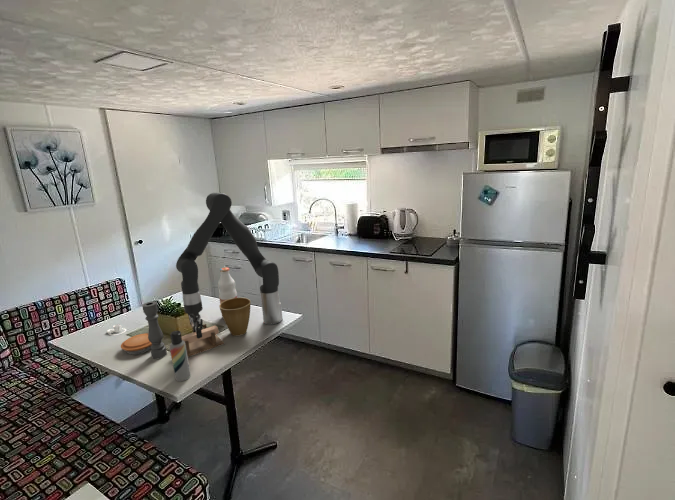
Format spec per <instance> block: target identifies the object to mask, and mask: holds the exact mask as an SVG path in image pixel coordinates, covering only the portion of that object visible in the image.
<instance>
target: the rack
mask: <svg viewBox="0 0 675 500" xmlns="http://www.w3.org/2000/svg"><path fill="white" fill-rule="evenodd" d="M206 328H208V326H207V324H206V323H203V329H206ZM185 345H186V350H187V356H188V358H190V357H192V355H193V356H195V355H198V354H200V353H203V352H206V351H210V350H211V349H215V348H217V347H220V346H222V345H225V342H224V341H223V340H222V338H220V337H219V336H218V334H216V335H215V332H212V333H211V336H210V337H207V338H204V339H201V340H198V341H195V342H192V343H190V344H189V342H188V341H185Z"/></svg>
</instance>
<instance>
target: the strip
mask: <svg viewBox="0 0 675 500" xmlns="http://www.w3.org/2000/svg"><path fill="white" fill-rule="evenodd" d="M201 331H202V337H201V338H197V335H196V332H191V333H190V332H189V333H187V334H184V335H181V337H182V340H183V341H188V342H189V344H190V343H192V342H195V341H198V340H201V339H204V338H207V337H210V336H211V333H212V332H215V335H219V334H220V333H219V327H218V326H217V325H212V326H209V327H207V328H206V329H203V330H201Z"/></svg>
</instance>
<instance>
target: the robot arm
mask: <svg viewBox="0 0 675 500" xmlns="http://www.w3.org/2000/svg"><path fill="white" fill-rule="evenodd" d="M205 204H206V207H207V209H208V210H209V211H208V215H207V217H206V218H205V220H203V222H202V223H201V225H200V226H198V228H197V229H196V231H194V233H193V235H192V237H191V238H190V240H189V242H188V245H187V247H186V248H185V249H184V251H182V253H181V254H180V256H179V257H178V258H177V260H176V263H175V264H176V265H175V268H176V269H177V271H178V272H180V273H181V277H182V280H181V282H180V285H181V286H180V287H181V292H182V293H181V295H182V302H183V310H184V313H185V314H187V316H188V320H189V324H190V326H191V328H192V331H193V332H196V335H197V338H201V337H202V331H201V330H203V325H204V320H203V319H202V317H201V314H200V312H202V310H203V303H202V295H201V292H200V286H199V268H198V264H197V262H196V260H197V258H198V257H200V256H202V255H203V254H204V251H205V249H206V248H207V246H208V244H209V242H210V240H211V238H212V236H213V234H214V232H216V230H217V228H218V227H219V226H220V223H221V225H222V226H223V228H224V229H225V231H226V232H227V234H228V235H229V237H230V238H231V240H232V241H233V243H234V244H235V245H236V247H237V248H238V249H239V250H240V251H241V253H242V254H243V255H244V256H245V258H246V259H247V260H248V262H249V263H250V265H251V266H252V269H253V270H254V272H255V274H256V275H258V276H259V278H262V284H261V285H260V287H259V295H260V300H261V310H262V319H263V323H264V324H265V325H269V326H270V325H276V324H279V323H281V322H282V321H283V310H282V303H281V302H280V295H279V284H280V277H279V275H280V274H279V268H278V265H277V263H275V262H273V261H270V260H267V259H266V257H264V255H263V254H262V252H261V251H260V250H259V247H258V243H257V239H256V238H255V236H254V235H253V233H252V232H251V230H250V229H249V227H248V226H247V225H245V223H243V222H242V221H241V220H240V219H239V218H238V217H237V216H236V215H234V213H233V212H232V210H231V208H232V199H231V197H230V195H228V194H226V193H223V192H211V193H209V194H208V195H207V197H206V198H205ZM193 332H192V333H193Z"/></svg>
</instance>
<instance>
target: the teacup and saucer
mask: <svg viewBox="0 0 675 500" xmlns="http://www.w3.org/2000/svg"><path fill="white" fill-rule="evenodd" d="M112 327H113V328H110V329H107V330H106V333H107V334H108V335H109V336H118V335H122V334H124V333H125V332H127V328H123V326H122V325H121V324H119V323H117V324H114V325H113V326H112ZM122 330H123V331H122ZM121 331H122V332H121ZM114 333H116V334H114Z"/></svg>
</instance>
